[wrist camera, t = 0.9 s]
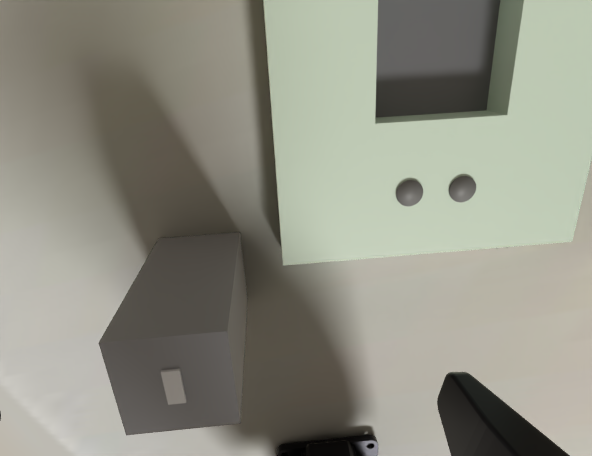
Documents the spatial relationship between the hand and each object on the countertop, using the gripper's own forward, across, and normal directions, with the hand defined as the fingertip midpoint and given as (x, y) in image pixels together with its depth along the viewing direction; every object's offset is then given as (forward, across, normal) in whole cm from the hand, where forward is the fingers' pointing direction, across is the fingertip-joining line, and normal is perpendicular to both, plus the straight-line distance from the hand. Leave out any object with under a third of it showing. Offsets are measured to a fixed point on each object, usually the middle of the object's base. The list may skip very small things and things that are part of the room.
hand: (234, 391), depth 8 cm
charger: (+12, +2, +5) cm, 13 cm away
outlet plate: (+13, -8, -6) cm, 16 cm away
